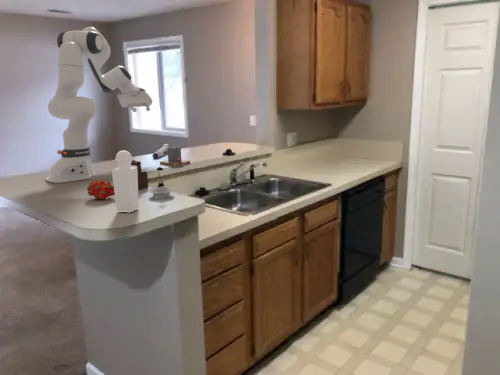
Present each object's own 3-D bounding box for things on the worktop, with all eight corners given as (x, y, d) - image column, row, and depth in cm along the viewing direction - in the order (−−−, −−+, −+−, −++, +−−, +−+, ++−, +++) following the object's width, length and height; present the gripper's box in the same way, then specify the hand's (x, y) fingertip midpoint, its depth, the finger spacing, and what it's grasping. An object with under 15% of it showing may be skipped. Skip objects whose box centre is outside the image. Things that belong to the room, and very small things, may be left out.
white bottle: (125, 208, 160) (120, 148, 155) (140, 209, 158) (136, 149, 153) (114, 213, 154) (109, 151, 148) (131, 214, 152) (126, 152, 147)
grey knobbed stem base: (161, 163, 180) (141, 167, 172) (177, 166, 173) (157, 170, 166) (163, 192, 182) (143, 197, 175) (179, 195, 176) (159, 201, 169)
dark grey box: (174, 162, 242) (174, 148, 241) (167, 161, 247) (166, 147, 245) (182, 161, 246) (181, 147, 244) (174, 160, 250) (174, 146, 249)
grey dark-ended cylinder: (150, 152, 264) (163, 141, 287) (152, 163, 266) (164, 151, 289) (159, 152, 263) (171, 141, 286) (160, 163, 266) (172, 151, 289)
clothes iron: (131, 182, 202) (128, 153, 199) (149, 187, 191) (147, 157, 187) (115, 185, 196) (112, 155, 193) (133, 191, 185) (130, 160, 182)
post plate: (173, 166, 239) (172, 149, 236) (160, 164, 246) (159, 147, 244) (190, 163, 247) (189, 147, 245) (176, 161, 255) (175, 145, 253)
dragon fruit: (87, 201, 175) (116, 206, 174) (80, 194, 167) (111, 198, 167) (93, 182, 178) (122, 186, 178) (86, 174, 170) (116, 178, 170)
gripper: (117, 89, 246) (128, 107, 242) (147, 89, 261) (158, 106, 257) (113, 97, 249) (124, 115, 245) (143, 96, 264) (154, 113, 261)
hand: (142, 110), depth 251 cm, fingers open, 8 cm apart
